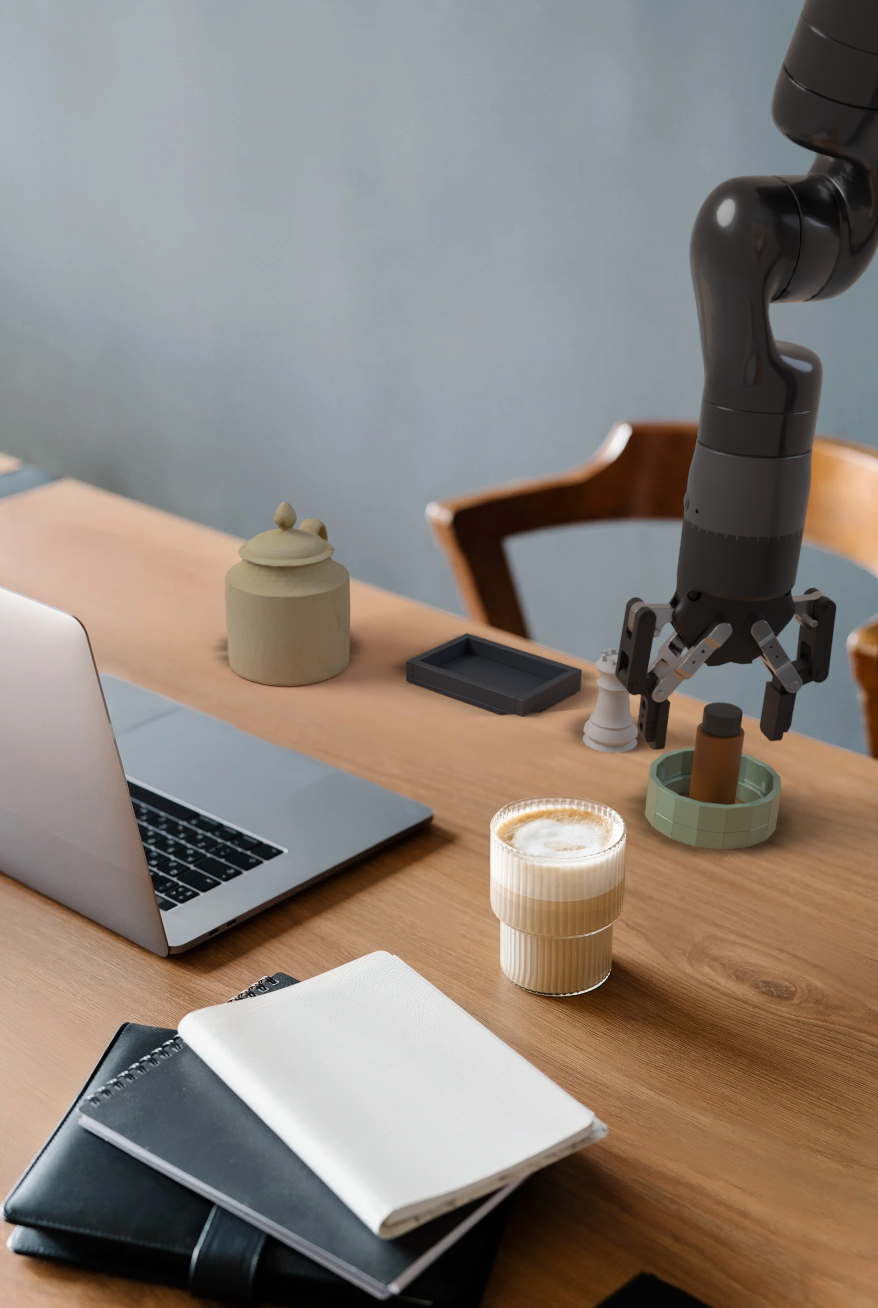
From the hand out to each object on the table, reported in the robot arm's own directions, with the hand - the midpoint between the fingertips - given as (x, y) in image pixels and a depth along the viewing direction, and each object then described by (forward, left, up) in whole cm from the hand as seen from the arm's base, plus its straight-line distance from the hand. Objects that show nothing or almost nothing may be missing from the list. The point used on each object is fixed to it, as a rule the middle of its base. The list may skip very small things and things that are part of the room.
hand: (712, 740), depth 96 cm
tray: (+8, -27, -7) cm, 29 cm away
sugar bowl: (+25, -37, -8) cm, 46 cm away
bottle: (-1, 0, -7) cm, 7 cm away
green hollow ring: (-1, 0, -7) cm, 7 cm away
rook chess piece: (+2, -14, -8) cm, 16 cm away
